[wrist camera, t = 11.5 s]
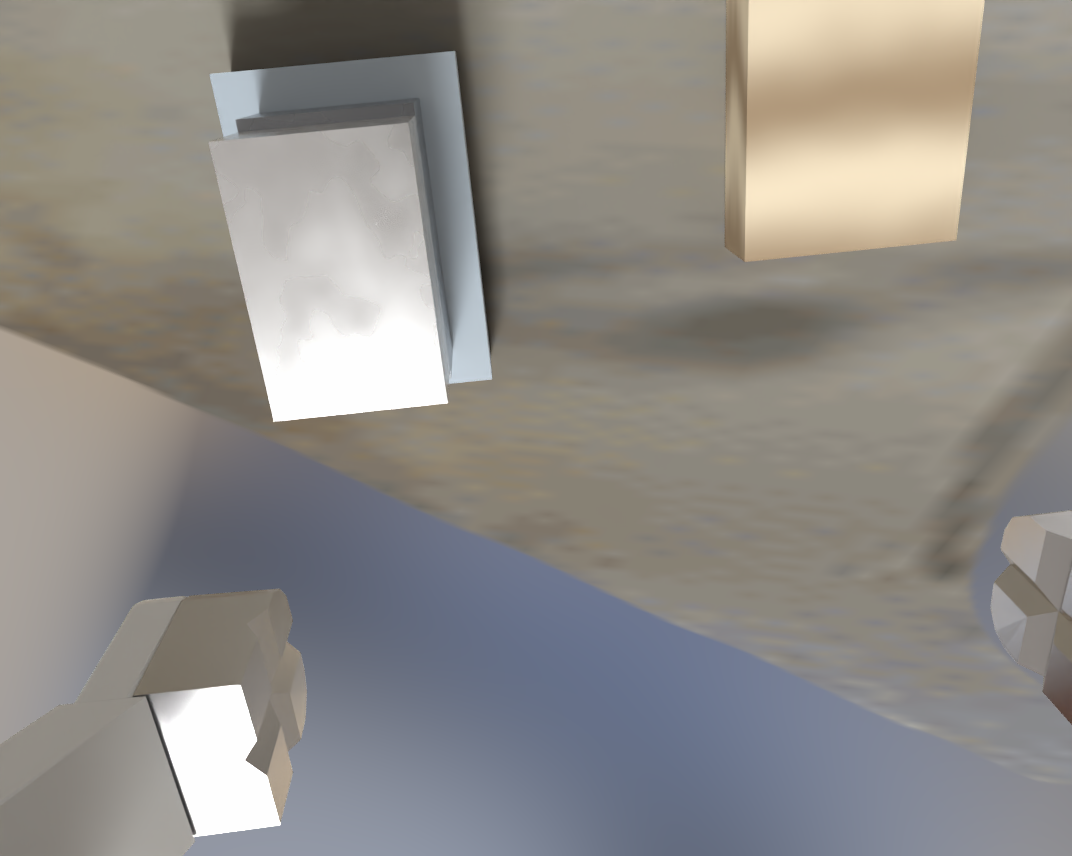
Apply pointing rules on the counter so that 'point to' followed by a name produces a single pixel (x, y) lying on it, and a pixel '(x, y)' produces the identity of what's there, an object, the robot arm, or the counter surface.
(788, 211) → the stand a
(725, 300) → the counter surface
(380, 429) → the counter surface
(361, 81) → the stand
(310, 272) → the block
